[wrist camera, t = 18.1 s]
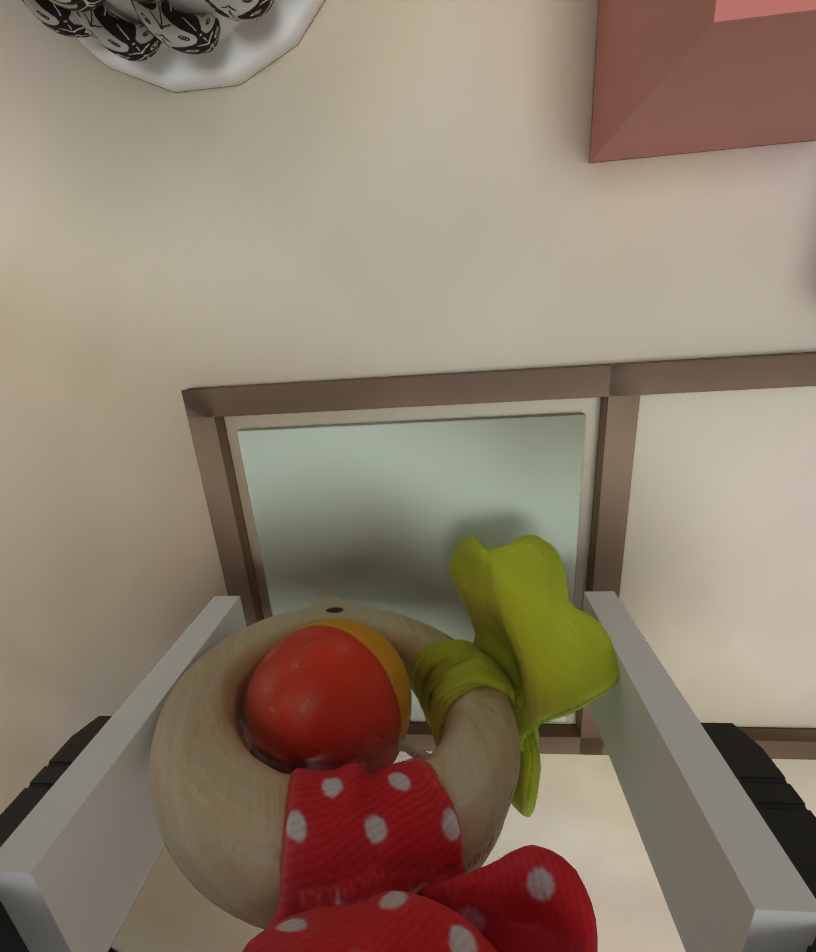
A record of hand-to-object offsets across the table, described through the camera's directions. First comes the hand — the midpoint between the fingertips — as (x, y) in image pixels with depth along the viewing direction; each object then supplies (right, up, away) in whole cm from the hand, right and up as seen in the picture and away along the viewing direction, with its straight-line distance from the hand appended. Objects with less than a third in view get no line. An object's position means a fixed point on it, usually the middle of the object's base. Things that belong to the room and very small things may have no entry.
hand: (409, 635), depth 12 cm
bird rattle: (0, 0, +1) cm, 1 cm away
